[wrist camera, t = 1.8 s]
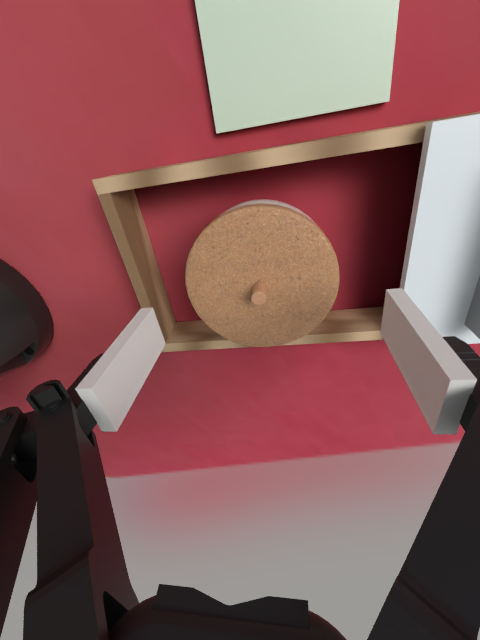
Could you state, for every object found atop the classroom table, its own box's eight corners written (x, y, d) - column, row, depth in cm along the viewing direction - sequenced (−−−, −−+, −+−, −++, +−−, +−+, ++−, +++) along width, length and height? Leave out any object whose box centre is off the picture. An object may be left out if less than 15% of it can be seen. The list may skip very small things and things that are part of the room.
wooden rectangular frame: (170, 330, 32) (158, 352, 29) (117, 174, 24) (91, 180, 20) (511, 306, 26) (546, 330, 23) (599, 90, 18) (673, 79, 15)
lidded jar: (324, 295, 28) (343, 357, 20) (219, 305, 30) (199, 365, 22) (322, 176, 22) (348, 197, 15) (193, 198, 24) (155, 227, 16)
